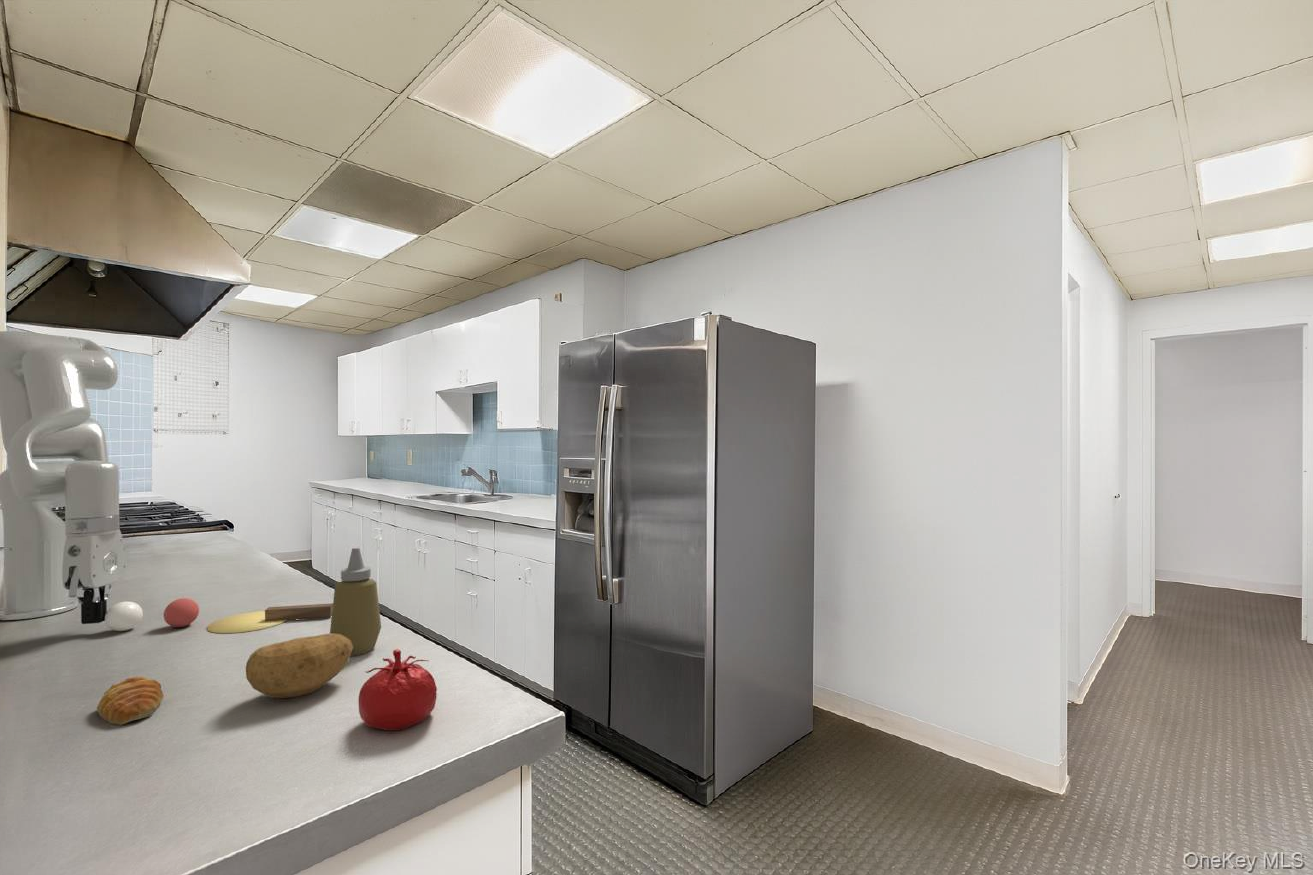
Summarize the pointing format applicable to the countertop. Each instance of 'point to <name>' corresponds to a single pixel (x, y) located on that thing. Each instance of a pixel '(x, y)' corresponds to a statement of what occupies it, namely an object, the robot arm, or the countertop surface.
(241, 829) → the countertop surface
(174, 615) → the object ball
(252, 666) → the potato
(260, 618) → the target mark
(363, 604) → the squeeze bottle
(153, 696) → the pastry
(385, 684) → the red tomato
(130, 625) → the white egg
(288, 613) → the rail
